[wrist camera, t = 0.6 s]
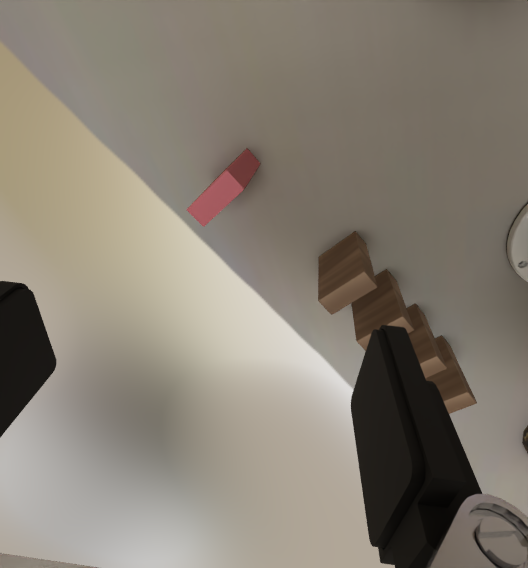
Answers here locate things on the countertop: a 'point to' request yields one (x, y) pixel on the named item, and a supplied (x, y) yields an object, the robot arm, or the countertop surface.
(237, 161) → the maroon domino
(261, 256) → the countertop surface
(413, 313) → the domino
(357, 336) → the domino
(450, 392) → the domino
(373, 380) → the robot arm
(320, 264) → the domino
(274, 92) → the countertop surface
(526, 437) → the wooden log slice
